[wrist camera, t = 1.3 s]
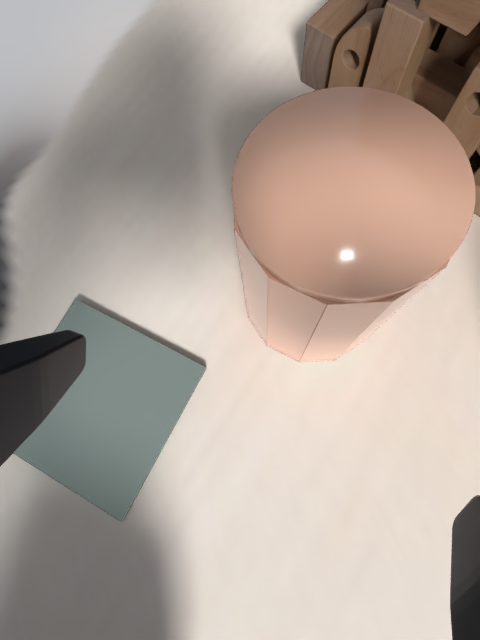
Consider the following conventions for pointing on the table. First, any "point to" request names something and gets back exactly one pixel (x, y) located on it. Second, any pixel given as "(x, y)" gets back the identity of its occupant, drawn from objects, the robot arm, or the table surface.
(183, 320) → the table surface
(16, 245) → the table surface
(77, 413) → the mat
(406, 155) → the salmon pink cylinder
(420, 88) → the wooden puzzle
